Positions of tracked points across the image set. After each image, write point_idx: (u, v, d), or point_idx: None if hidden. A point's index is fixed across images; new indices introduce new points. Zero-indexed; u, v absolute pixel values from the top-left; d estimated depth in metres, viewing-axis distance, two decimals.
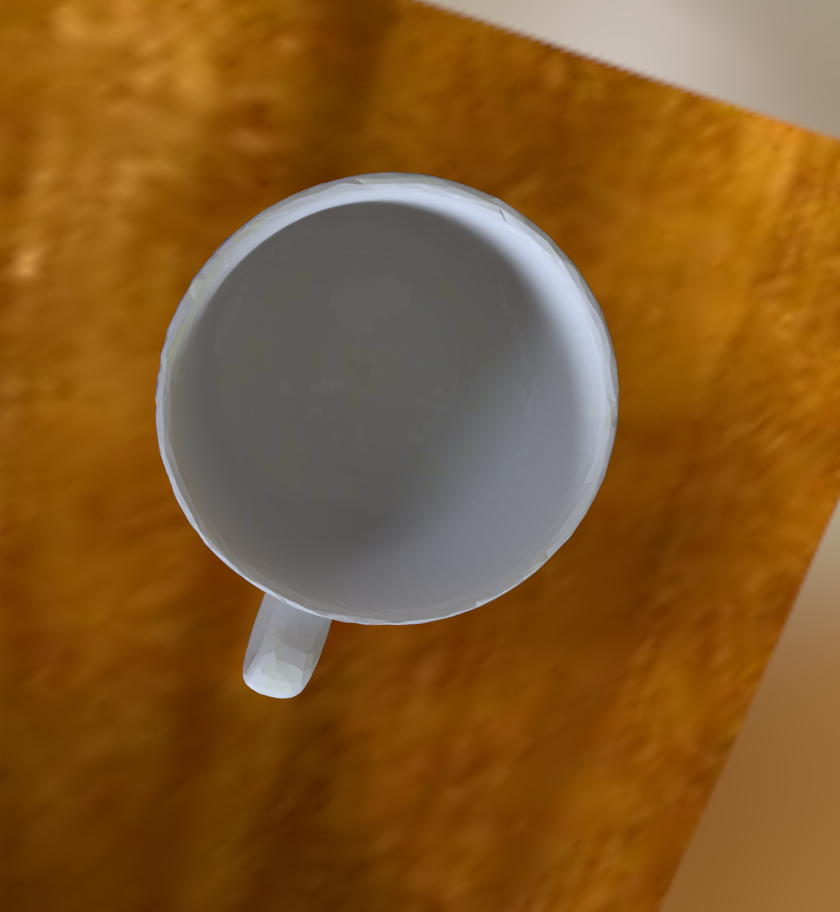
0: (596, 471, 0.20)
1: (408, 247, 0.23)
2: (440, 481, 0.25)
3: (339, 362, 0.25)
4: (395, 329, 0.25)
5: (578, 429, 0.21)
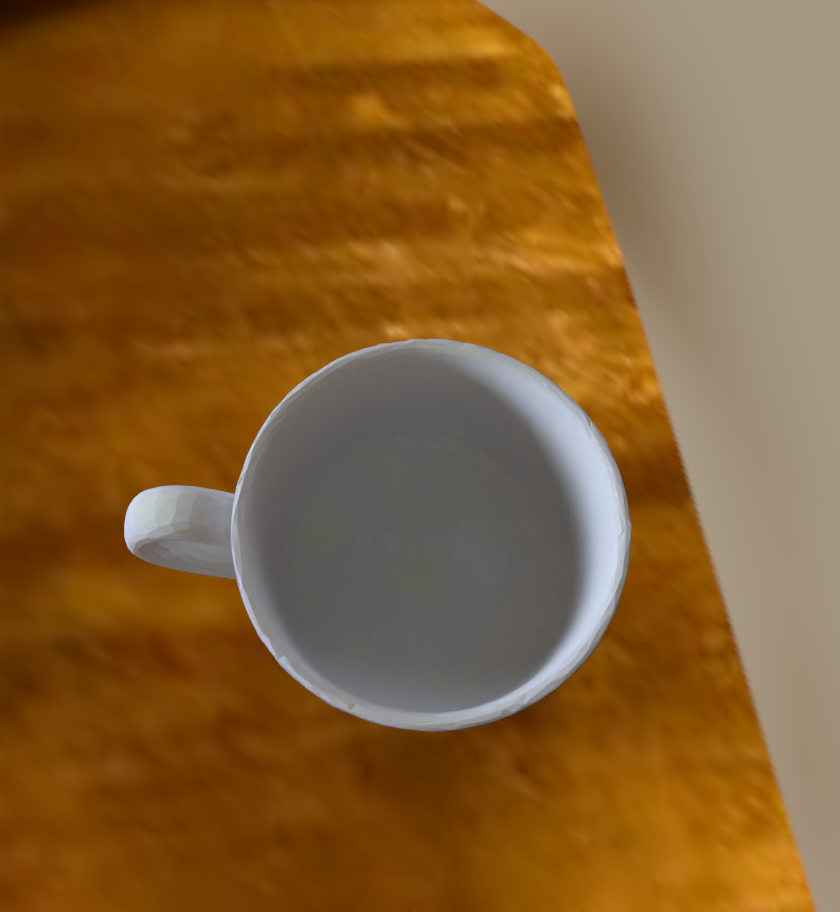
0: (453, 719, 0.19)
1: (533, 561, 0.27)
2: (345, 671, 0.25)
3: (416, 547, 0.28)
4: (463, 582, 0.27)
5: None
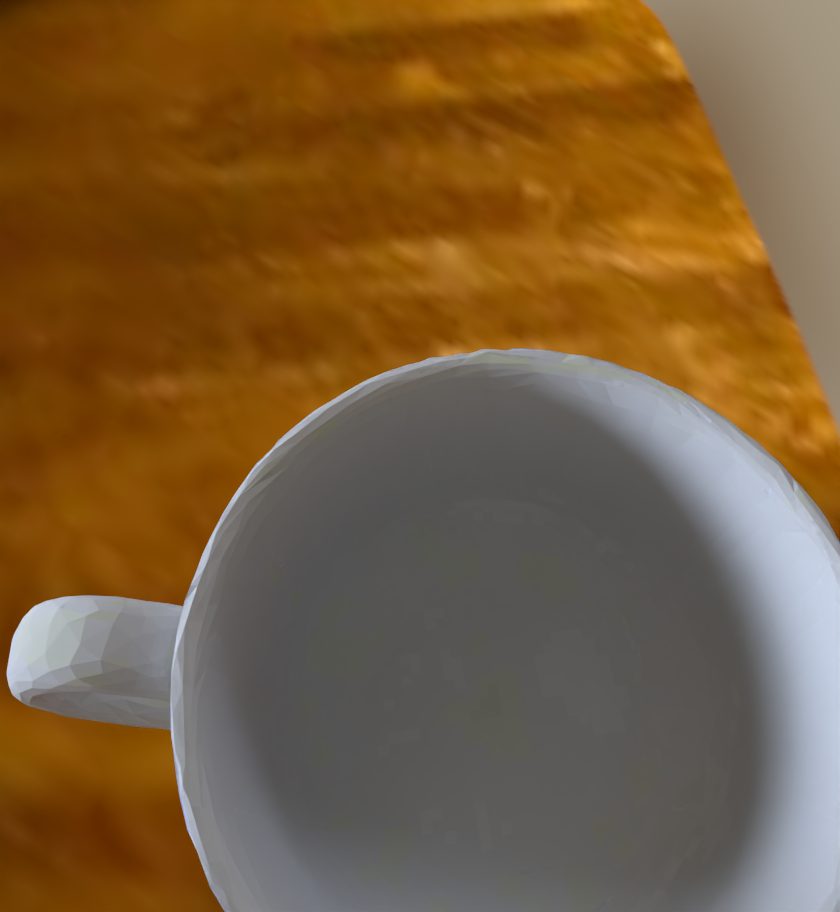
0: None
1: (671, 697, 0.18)
2: (378, 883, 0.16)
3: (488, 672, 0.18)
4: (561, 729, 0.18)
5: None
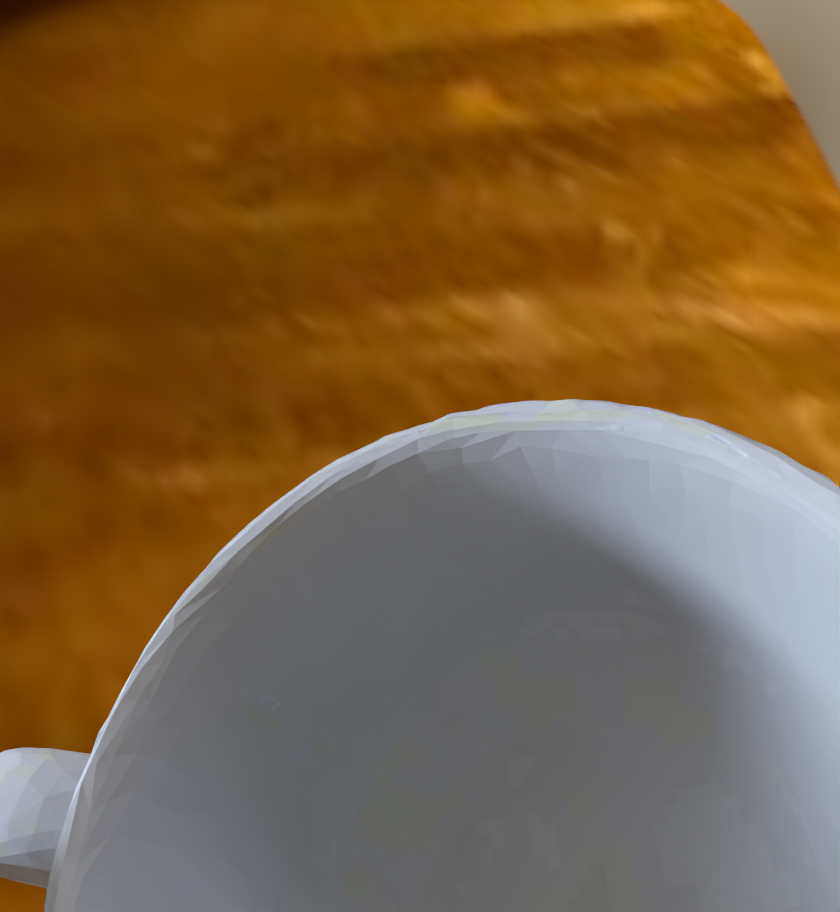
0: None
1: None
2: None
3: (591, 847, 0.14)
4: None
5: None
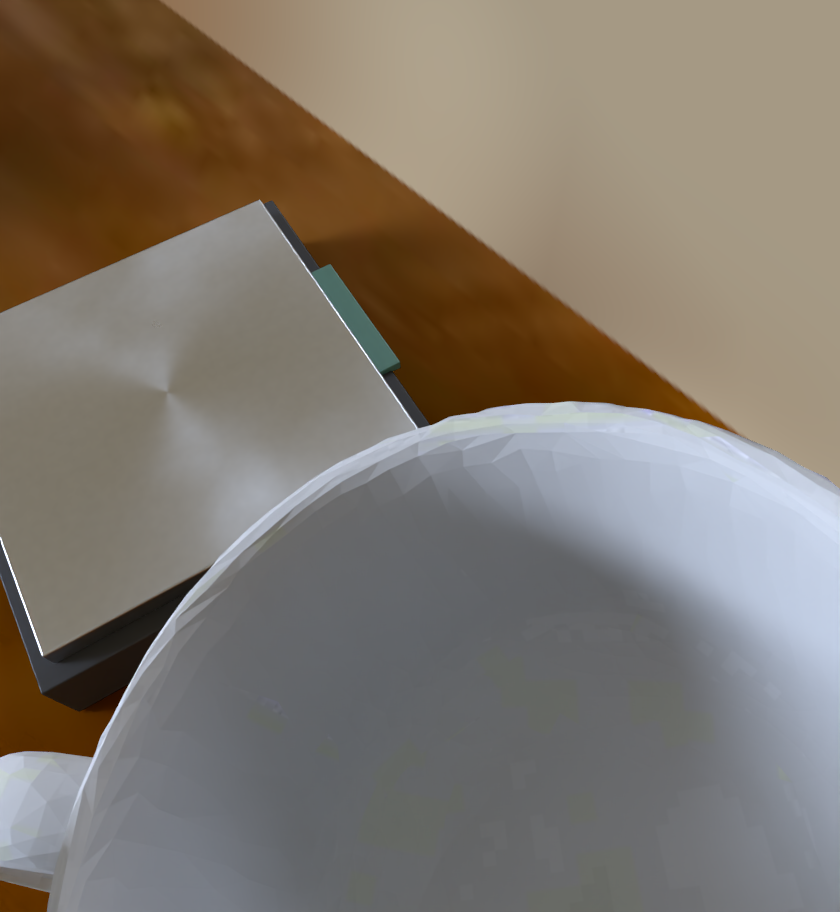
0: None
1: None
2: None
3: (593, 849, 0.14)
4: None
5: None
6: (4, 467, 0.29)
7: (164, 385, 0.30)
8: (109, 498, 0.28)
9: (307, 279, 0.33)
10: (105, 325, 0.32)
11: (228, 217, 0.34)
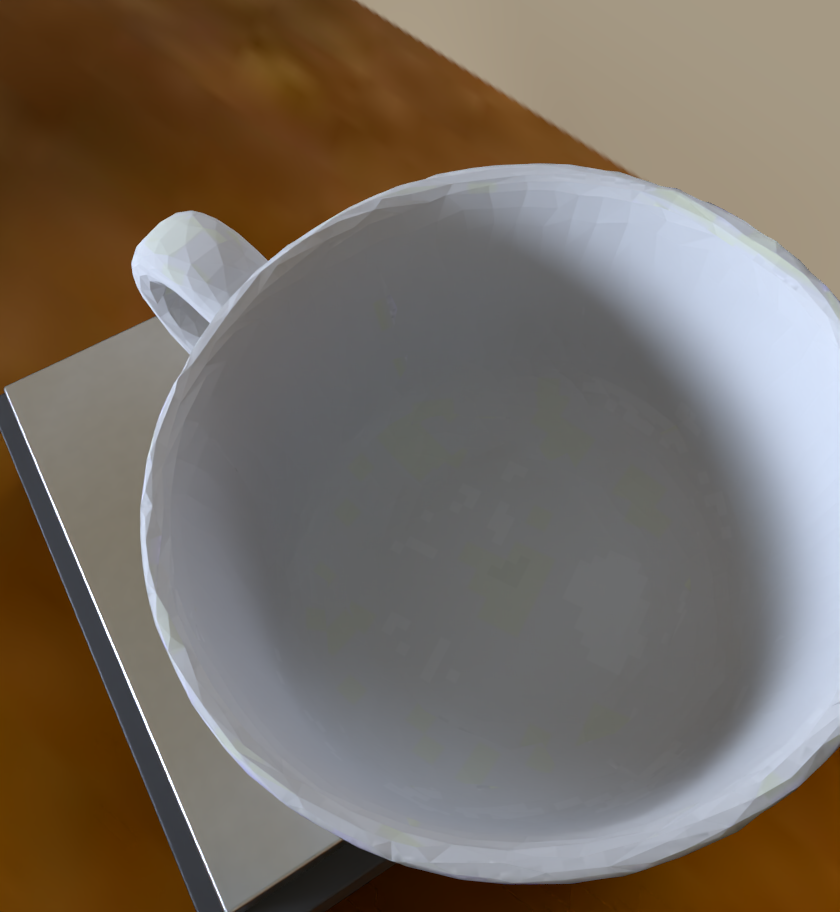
0: (300, 788, 0.10)
1: (682, 674, 0.16)
2: (318, 634, 0.16)
3: (529, 546, 0.18)
4: (559, 634, 0.17)
5: (377, 803, 0.11)
6: (132, 581, 0.19)
7: None
8: None
9: None
10: None
11: None
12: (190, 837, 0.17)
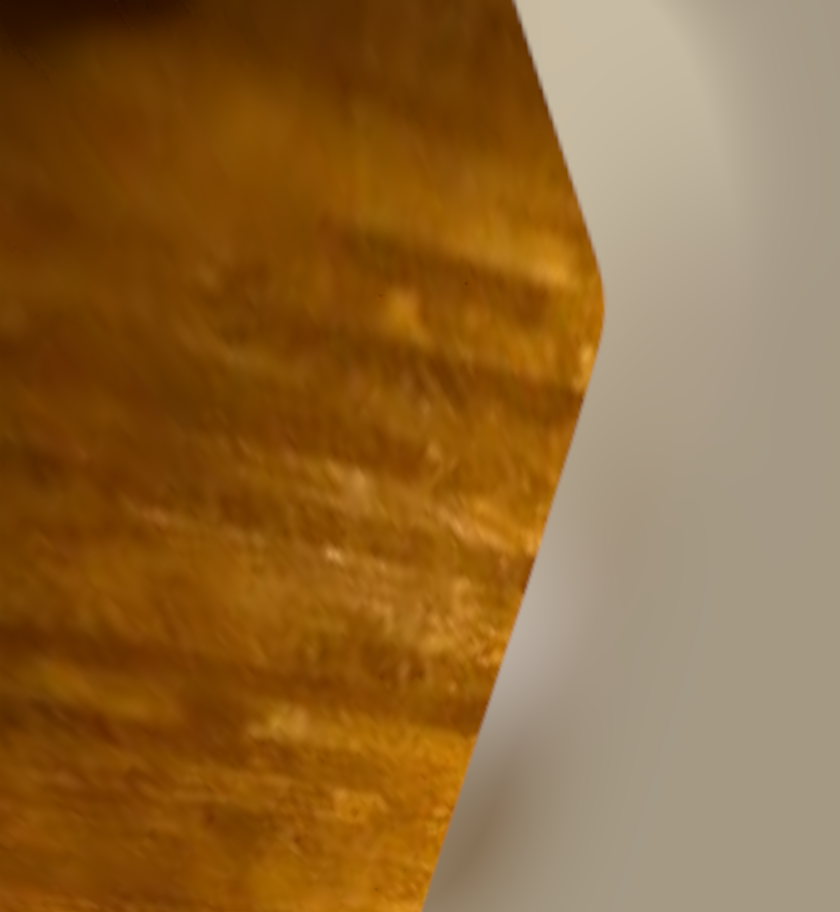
0: None
1: None
2: None
3: None
4: None
5: None
6: None
7: None
8: None
9: None
10: None
11: None
12: None
